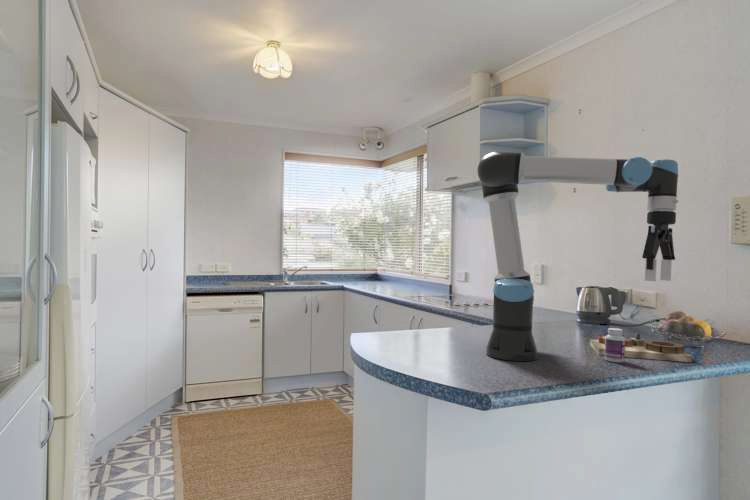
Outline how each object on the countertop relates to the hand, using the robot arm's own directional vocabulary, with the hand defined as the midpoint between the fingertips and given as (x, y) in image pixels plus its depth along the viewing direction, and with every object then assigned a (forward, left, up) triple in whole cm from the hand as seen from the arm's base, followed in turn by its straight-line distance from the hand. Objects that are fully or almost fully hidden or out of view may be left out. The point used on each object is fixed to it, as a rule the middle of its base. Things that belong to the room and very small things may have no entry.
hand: (658, 280), depth 144 cm
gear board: (-3, +11, -25) cm, 27 cm away
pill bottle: (-13, -5, -25) cm, 28 cm away
